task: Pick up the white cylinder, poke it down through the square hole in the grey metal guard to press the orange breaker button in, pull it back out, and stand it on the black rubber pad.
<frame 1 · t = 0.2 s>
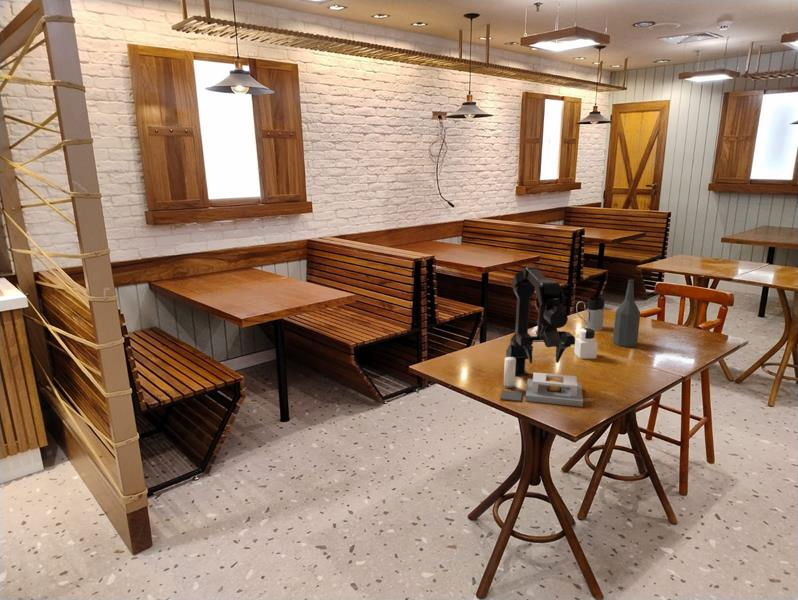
hand: (543, 362, 187), 14 cm above the table, tool pointing down, fingers open, 9 cm apart
bottle: (624, 344, 250), on the table
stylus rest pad: (511, 396, 194), on the table
medicine bottle: (585, 356, 235), on the table
breaker button: (554, 385, 195), point 3 cm above the table, slide at 0.0 cm
white cylinder: (508, 386, 203), on the table
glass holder: (588, 328, 274), on the table
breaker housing: (553, 394, 196), on the table
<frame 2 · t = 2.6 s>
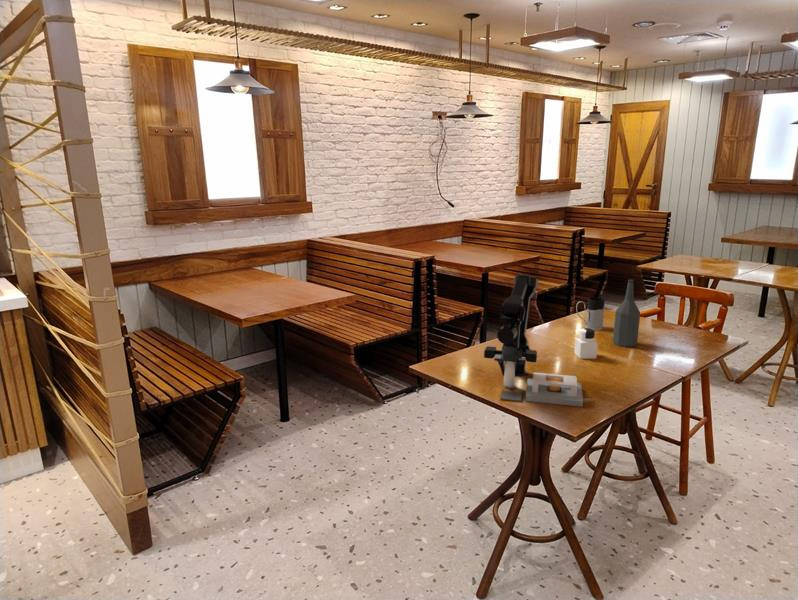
hand: (509, 376, 202), 4 cm above the table, tool pointing down, fingers closed on white cylinder, 4 cm apart
white cylinder: (508, 386, 203), on the table, touching gripper
everything else where it was.
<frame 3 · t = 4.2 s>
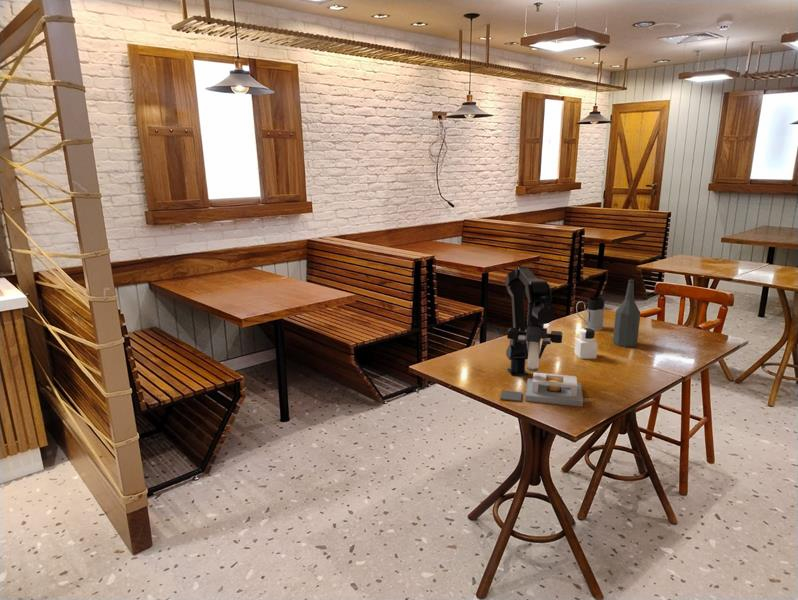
hand: (533, 358, 196), 13 cm above the table, tool pointing down, fingers closed on white cylinder, 4 cm apart
white cylinder: (532, 369, 197), point 8 cm above the table, touching gripper
everything else where it was.
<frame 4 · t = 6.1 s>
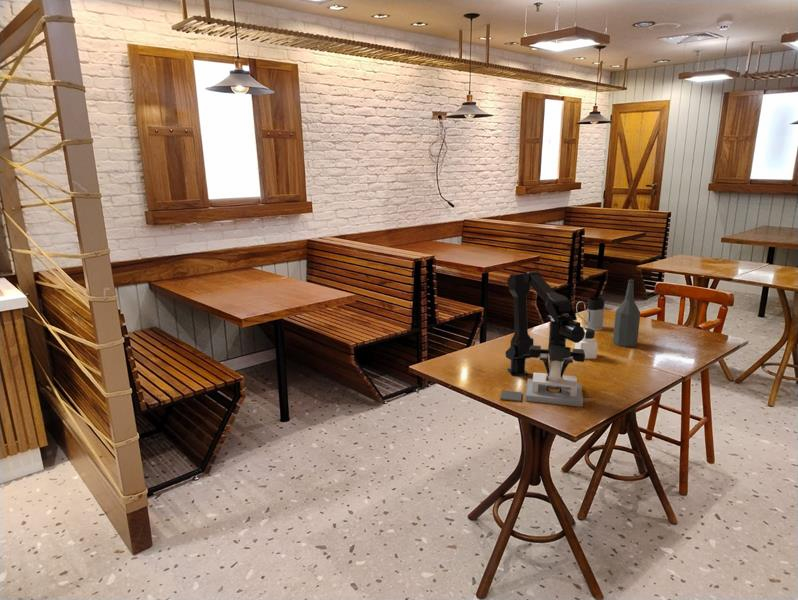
hand: (554, 376, 194), 7 cm above the table, tool pointing down, fingers closed on white cylinder, 4 cm apart
breaker button: (553, 390, 195), point 2 cm above the table, slide at 1.9 cm, touching white cylinder
white cylinder: (554, 387, 195), point 3 cm above the table, touching breaker button, gripper
everything else where it was.
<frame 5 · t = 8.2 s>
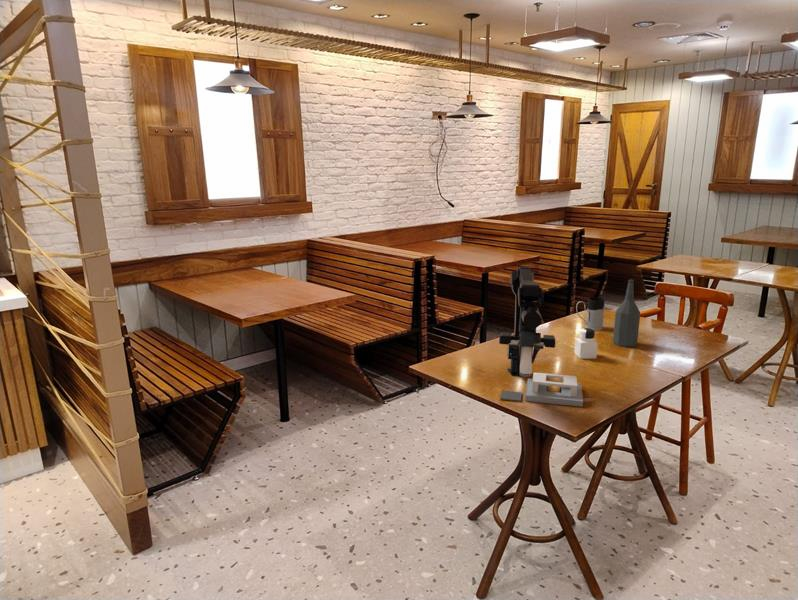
hand: (525, 363, 191), 13 cm above the table, tool pointing down, fingers closed on white cylinder, 4 cm apart
breaker button: (553, 390, 195), point 2 cm above the table, slide at 1.9 cm
white cylinder: (525, 374, 192), point 8 cm above the table, touching gripper
everything else where it was.
when the fingers open (6 cm above the table, at t = 10.0 s): white cylinder drops 1 cm, resting on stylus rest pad.
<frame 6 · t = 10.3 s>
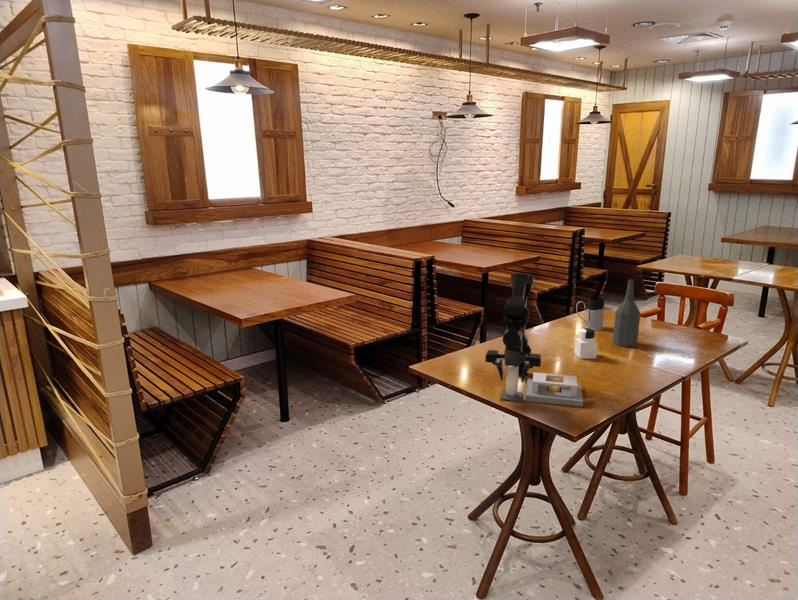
hand: (512, 381, 192), 6 cm above the table, tool pointing down, fingers open, 7 cm apart
white cylinder: (511, 395, 194), point 1 cm above the table, touching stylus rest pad
everything else where it was.
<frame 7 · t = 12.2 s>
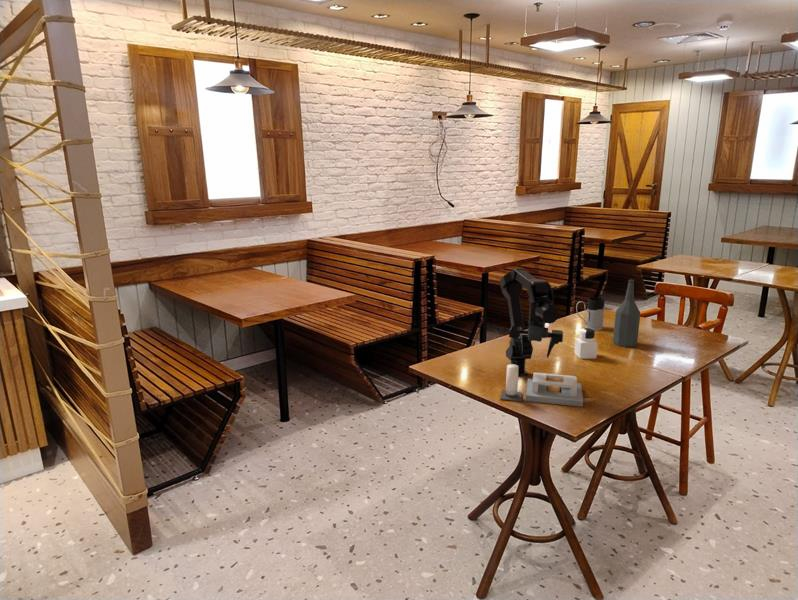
hand: (534, 356, 200), 12 cm above the table, tool pointing down, fingers open, 9 cm apart
nothing on the table moved.
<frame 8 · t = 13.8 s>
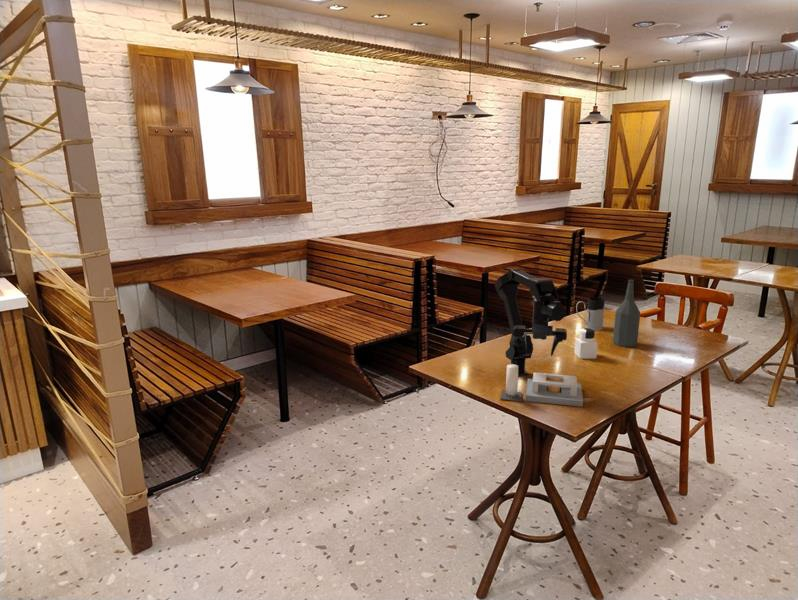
hand: (538, 354, 201), 12 cm above the table, tool pointing down, fingers open, 9 cm apart
nothing on the table moved.
at the end: breaker button slide at 1.9 cm; white cylinder 0.1 cm from the target spot, point 0.6 cm above the table; white cylinder tilted 0° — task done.
